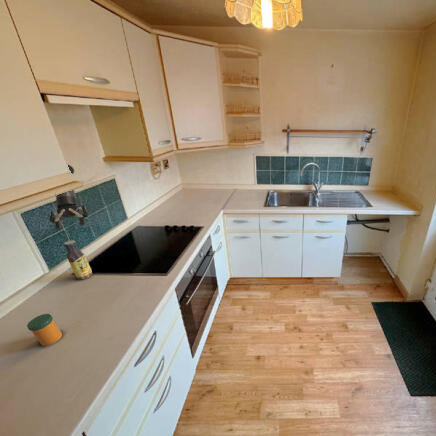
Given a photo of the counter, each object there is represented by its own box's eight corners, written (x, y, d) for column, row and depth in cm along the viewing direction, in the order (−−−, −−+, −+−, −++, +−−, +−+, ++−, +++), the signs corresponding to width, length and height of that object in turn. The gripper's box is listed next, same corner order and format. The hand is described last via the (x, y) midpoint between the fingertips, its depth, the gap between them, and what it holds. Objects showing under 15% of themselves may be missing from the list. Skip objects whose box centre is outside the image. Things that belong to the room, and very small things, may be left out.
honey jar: (43, 349, 80) (30, 331, 76) (39, 341, 83) (26, 323, 79) (64, 337, 84) (52, 319, 80) (59, 329, 87) (48, 312, 83)
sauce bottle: (87, 280, 112) (70, 246, 104) (74, 280, 112) (55, 246, 103) (96, 271, 118) (81, 238, 110) (84, 272, 118) (67, 239, 109)
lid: (31, 334, 76) (29, 330, 76) (27, 325, 79) (24, 322, 79) (55, 321, 81) (53, 318, 80) (50, 314, 84) (48, 311, 83)
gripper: (43, 198, 111) (47, 228, 107) (81, 193, 118) (86, 221, 114) (51, 204, 118) (55, 233, 114) (86, 199, 124) (91, 226, 121)
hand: (71, 227), depth 114 cm, fingers open, 8 cm apart
